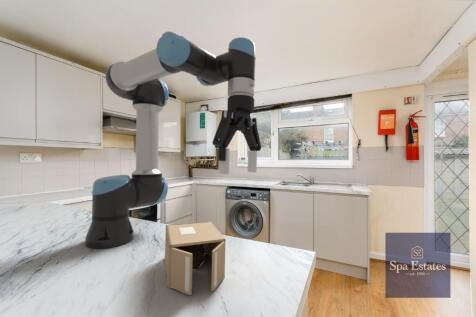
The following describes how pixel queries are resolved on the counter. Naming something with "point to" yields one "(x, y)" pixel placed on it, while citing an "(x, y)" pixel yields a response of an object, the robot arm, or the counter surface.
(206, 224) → the carton
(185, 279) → the flap near
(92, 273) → the counter surface
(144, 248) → the counter surface
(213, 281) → the flap far
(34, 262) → the counter surface
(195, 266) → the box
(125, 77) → the robot arm
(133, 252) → the counter surface
